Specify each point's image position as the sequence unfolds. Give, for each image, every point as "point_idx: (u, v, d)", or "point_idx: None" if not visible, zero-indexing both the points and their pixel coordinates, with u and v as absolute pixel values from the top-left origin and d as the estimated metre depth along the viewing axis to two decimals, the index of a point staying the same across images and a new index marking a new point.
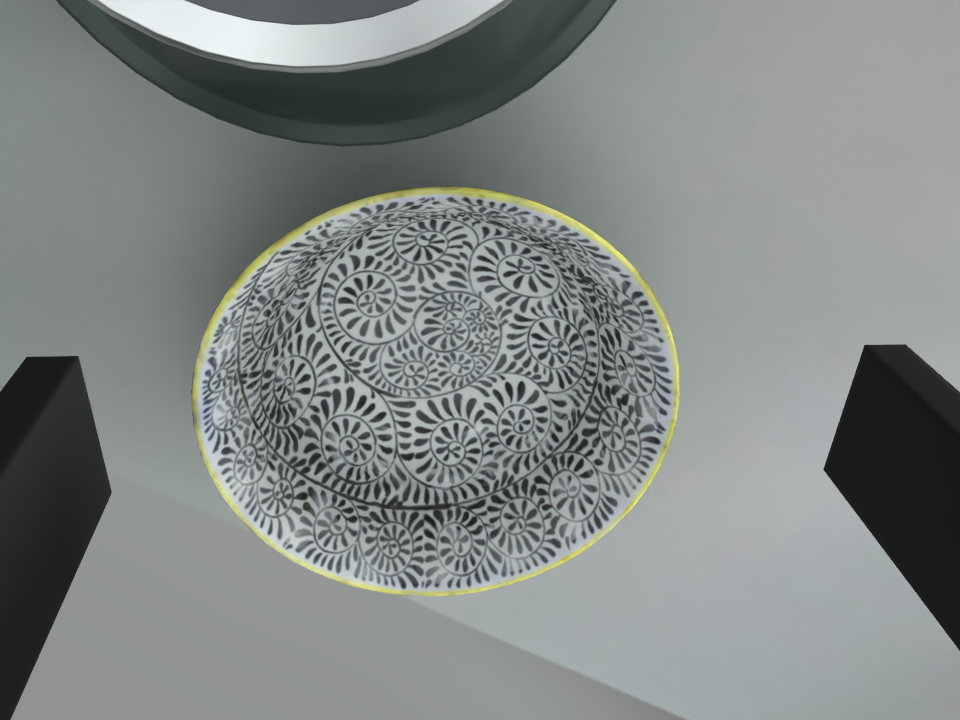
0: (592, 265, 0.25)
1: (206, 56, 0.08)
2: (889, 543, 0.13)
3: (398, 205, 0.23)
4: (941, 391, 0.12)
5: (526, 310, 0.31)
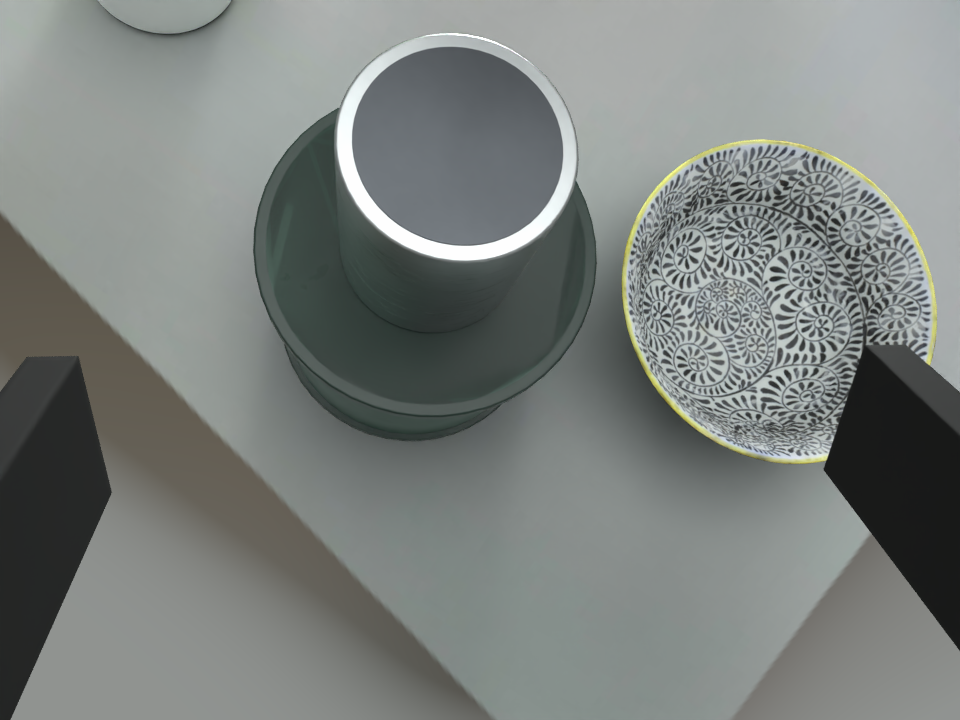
0: (683, 190, 0.39)
1: (568, 200, 0.23)
2: (889, 544, 0.13)
3: (630, 294, 0.37)
4: (941, 392, 0.12)
5: (715, 257, 0.44)
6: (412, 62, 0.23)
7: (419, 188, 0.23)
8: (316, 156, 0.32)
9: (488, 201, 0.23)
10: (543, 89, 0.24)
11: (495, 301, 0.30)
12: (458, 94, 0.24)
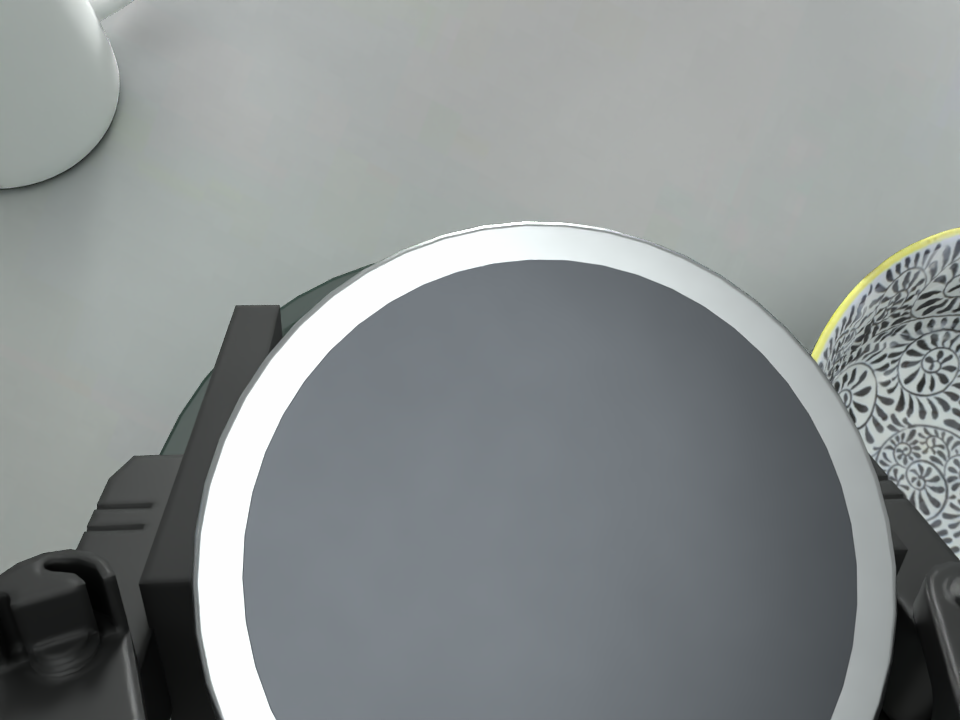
0: (857, 324, 0.24)
1: (892, 657, 0.08)
2: None
3: None
4: None
5: (891, 398, 0.29)
6: (392, 329, 0.08)
7: None
8: None
9: None
10: (756, 338, 0.09)
11: None
12: (534, 398, 0.08)
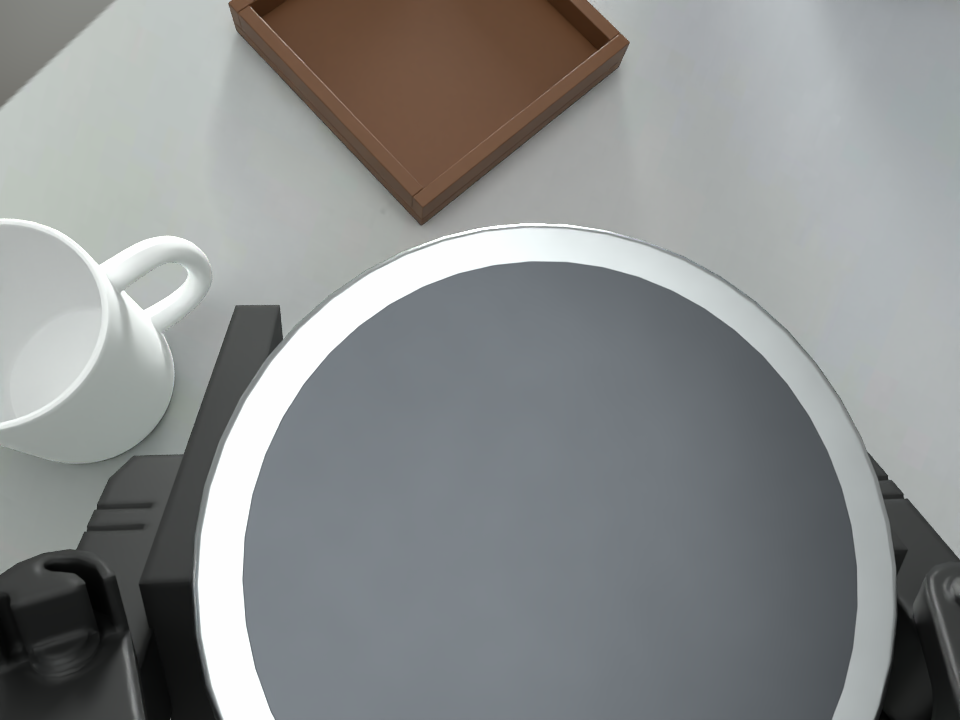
0: None
1: (892, 659, 0.08)
2: None
3: None
4: None
5: None
6: (392, 331, 0.08)
7: None
8: None
9: None
10: (756, 339, 0.09)
11: None
12: (534, 400, 0.08)
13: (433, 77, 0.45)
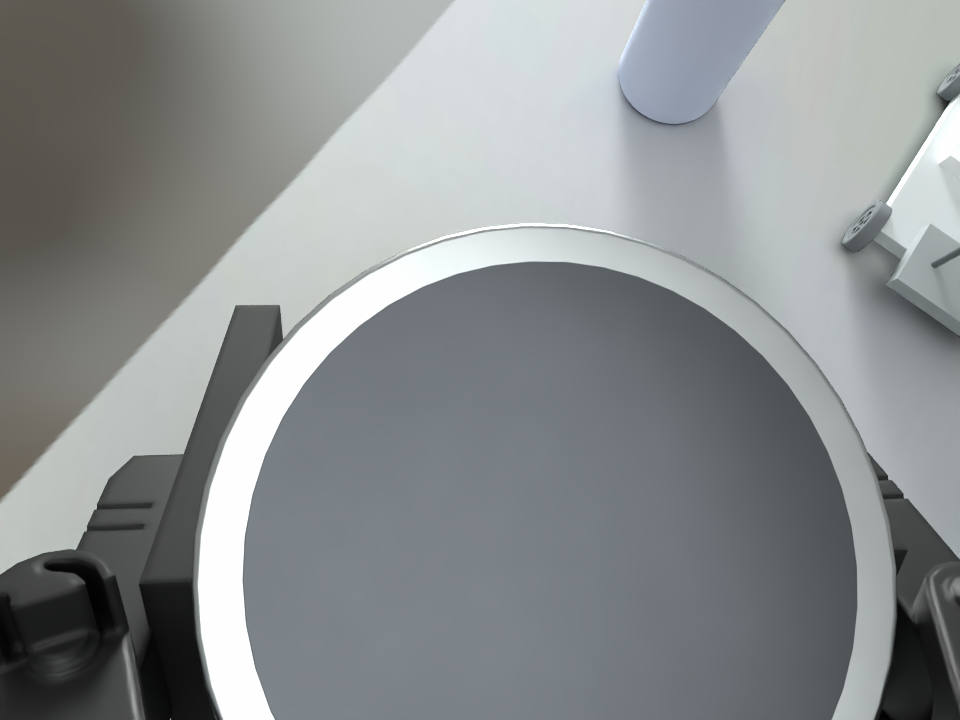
0: None
1: (892, 659, 0.08)
2: None
3: None
4: None
5: None
6: (392, 331, 0.08)
7: None
8: None
9: None
10: (756, 340, 0.09)
11: None
12: (535, 400, 0.08)
13: None
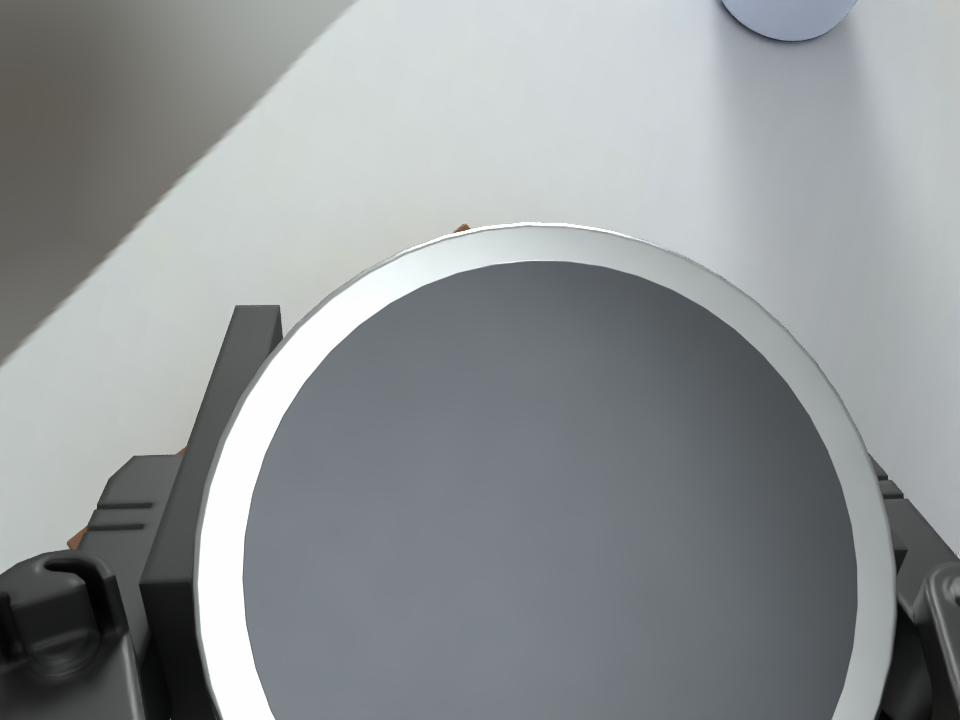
0: None
1: (892, 659, 0.08)
2: None
3: None
4: None
5: None
6: (392, 331, 0.08)
7: None
8: None
9: None
10: (756, 339, 0.09)
11: None
12: (534, 399, 0.08)
13: None
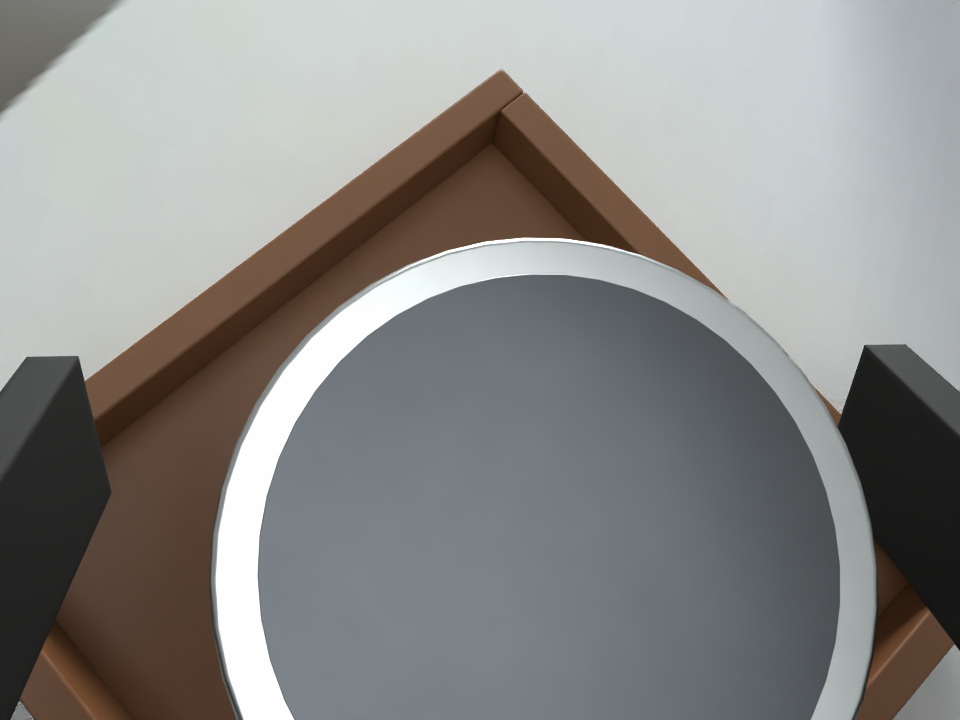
0: None
1: (873, 653, 0.09)
2: (889, 544, 0.13)
3: None
4: (941, 392, 0.12)
5: None
6: (399, 341, 0.09)
7: (470, 718, 0.08)
8: None
9: (667, 712, 0.08)
10: (745, 349, 0.09)
11: None
12: (533, 406, 0.09)
13: None
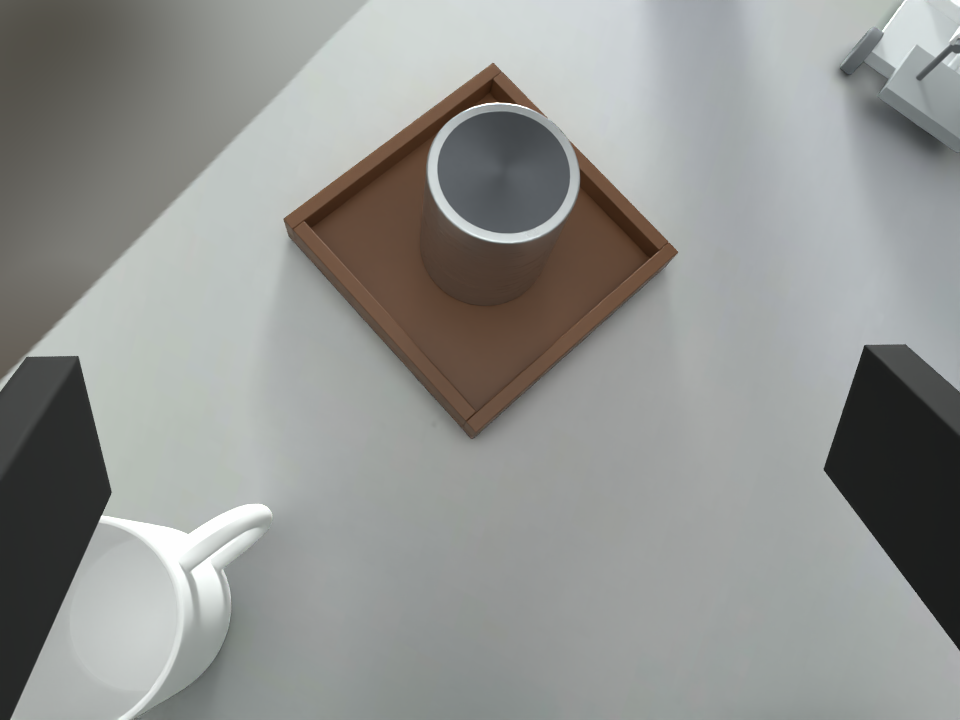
0: None
1: None
2: (889, 543, 0.13)
3: None
4: (941, 392, 0.12)
5: None
6: (467, 125, 0.37)
7: (484, 202, 0.36)
8: None
9: (527, 203, 0.37)
10: (550, 129, 0.38)
11: (535, 275, 0.43)
12: (499, 140, 0.37)
13: None
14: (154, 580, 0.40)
